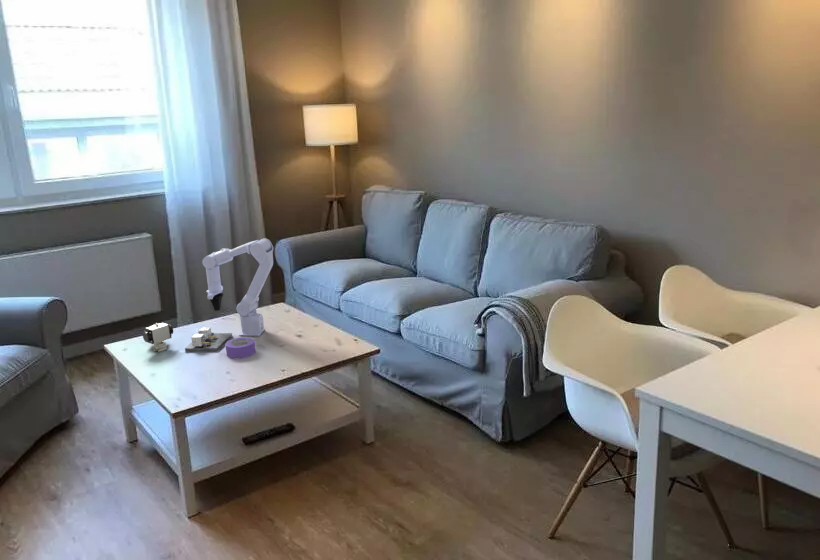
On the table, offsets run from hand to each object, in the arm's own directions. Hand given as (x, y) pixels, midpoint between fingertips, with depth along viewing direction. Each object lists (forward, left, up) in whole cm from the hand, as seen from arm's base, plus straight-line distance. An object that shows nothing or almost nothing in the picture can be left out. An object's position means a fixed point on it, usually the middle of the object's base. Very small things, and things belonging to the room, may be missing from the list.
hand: (217, 310), depth 311 cm
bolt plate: (-1, +15, -10) cm, 18 cm away
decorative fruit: (+22, +15, -11) cm, 29 cm away
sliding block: (0, +14, -9) cm, 16 cm away
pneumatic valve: (+18, +22, -11) cm, 30 cm away
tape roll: (-19, +26, -11) cm, 34 cm away
